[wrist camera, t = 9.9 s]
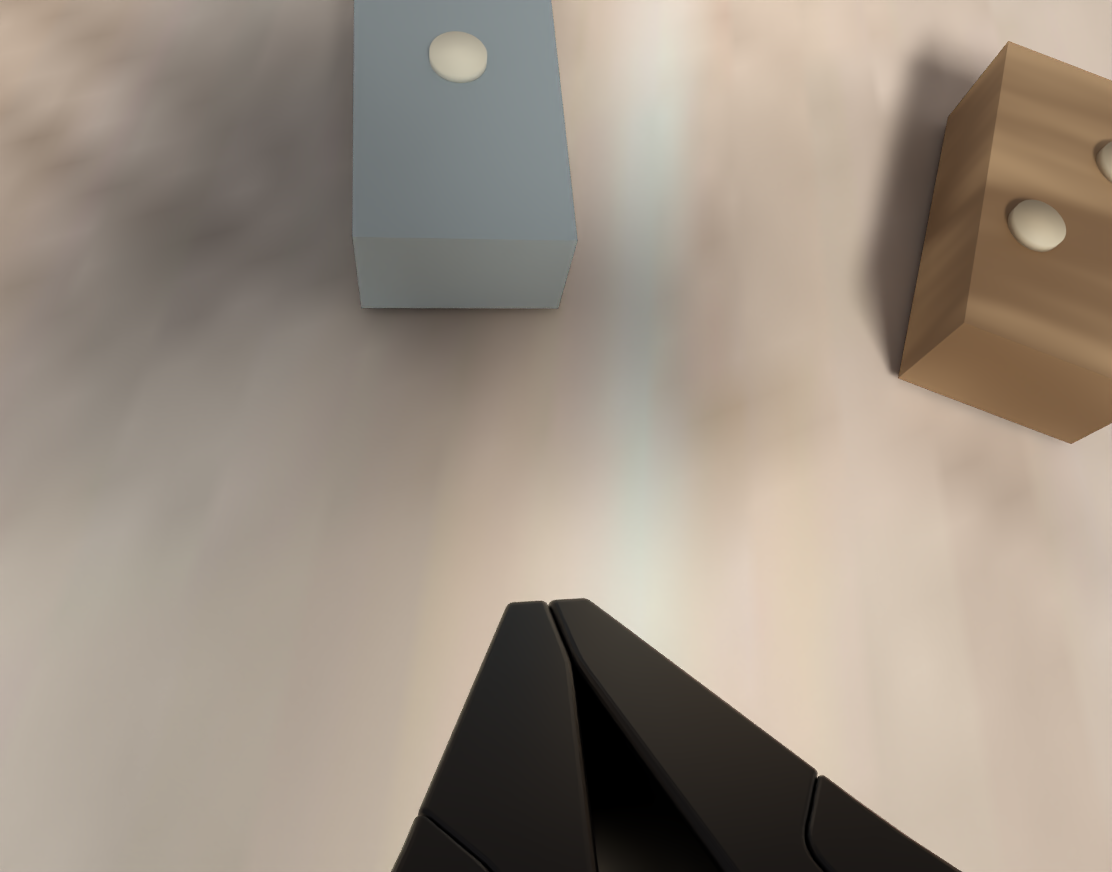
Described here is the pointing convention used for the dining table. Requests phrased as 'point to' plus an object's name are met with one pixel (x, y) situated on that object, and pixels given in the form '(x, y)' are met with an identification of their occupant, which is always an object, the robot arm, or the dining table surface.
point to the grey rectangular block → (459, 155)
